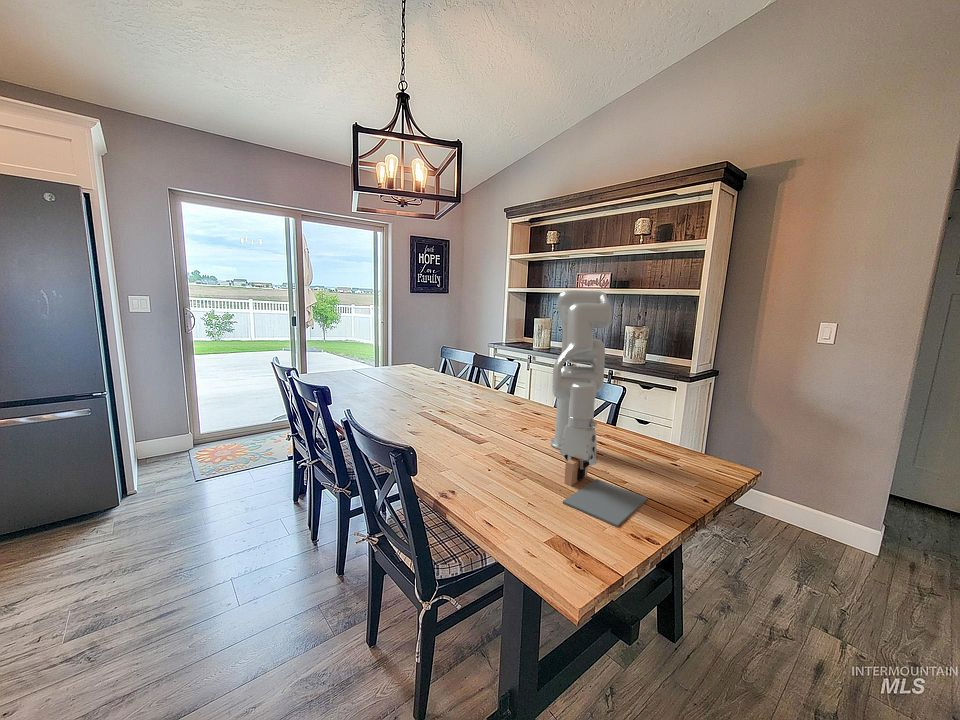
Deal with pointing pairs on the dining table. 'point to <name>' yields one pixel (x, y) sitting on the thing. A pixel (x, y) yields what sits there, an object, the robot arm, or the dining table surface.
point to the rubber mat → (606, 502)
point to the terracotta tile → (572, 471)
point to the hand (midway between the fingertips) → (576, 477)
